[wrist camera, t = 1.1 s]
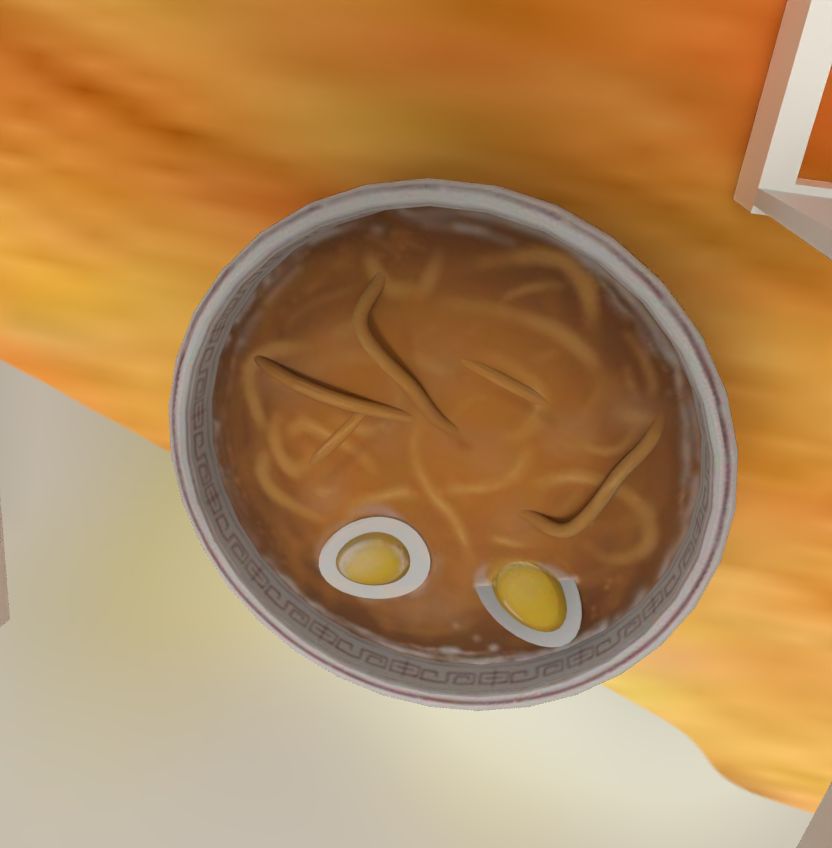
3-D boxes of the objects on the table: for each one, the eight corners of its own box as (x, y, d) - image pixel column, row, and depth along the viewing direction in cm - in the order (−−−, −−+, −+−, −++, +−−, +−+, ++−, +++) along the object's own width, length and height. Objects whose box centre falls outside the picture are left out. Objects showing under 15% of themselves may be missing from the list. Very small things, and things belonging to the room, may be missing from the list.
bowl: (521, 658, 44) (496, 797, 35) (197, 429, 44) (89, 512, 35) (821, 356, 34) (893, 443, 25) (406, 55, 34) (330, 36, 25)
